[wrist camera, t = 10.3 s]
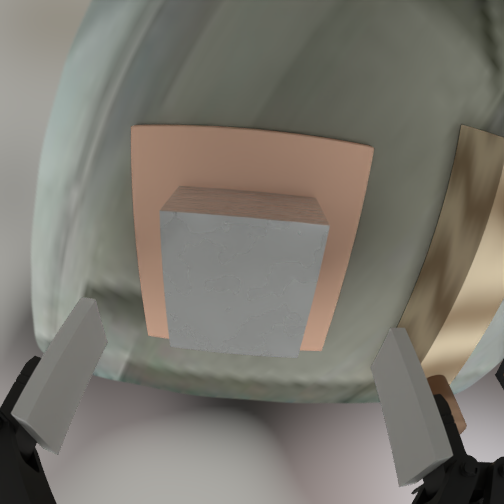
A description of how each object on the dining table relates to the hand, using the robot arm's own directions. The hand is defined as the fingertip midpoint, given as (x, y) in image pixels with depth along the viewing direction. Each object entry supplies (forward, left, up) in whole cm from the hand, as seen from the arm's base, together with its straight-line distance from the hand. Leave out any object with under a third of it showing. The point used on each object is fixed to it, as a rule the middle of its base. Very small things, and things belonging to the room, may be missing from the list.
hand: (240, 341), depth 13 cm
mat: (0, 0, -9) cm, 9 cm away
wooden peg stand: (0, +16, -9) cm, 18 cm away
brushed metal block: (0, 0, -8) cm, 8 cm away
